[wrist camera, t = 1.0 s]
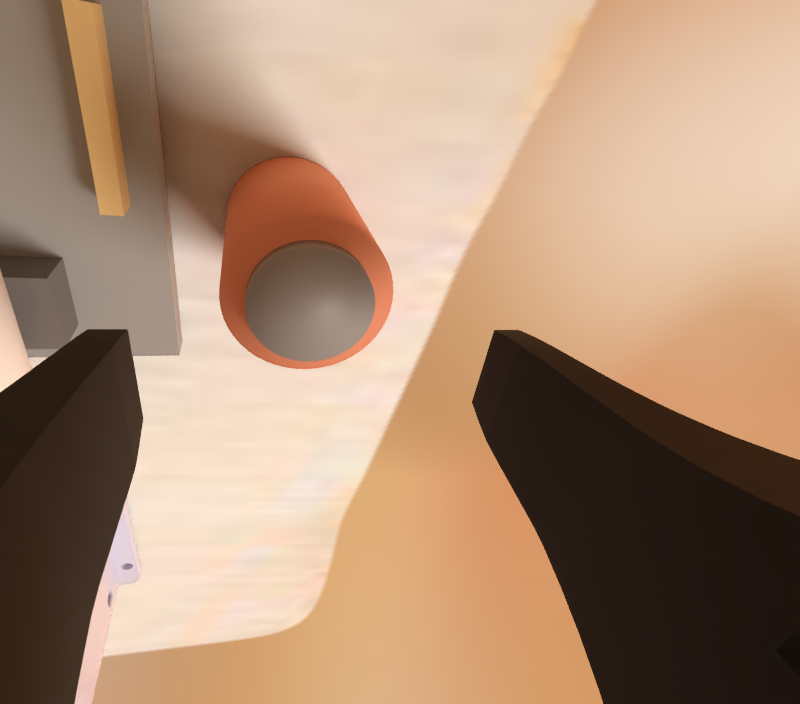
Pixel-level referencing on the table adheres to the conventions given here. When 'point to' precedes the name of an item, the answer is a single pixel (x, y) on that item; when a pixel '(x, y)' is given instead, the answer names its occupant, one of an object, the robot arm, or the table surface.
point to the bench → (81, 182)
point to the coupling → (300, 267)
